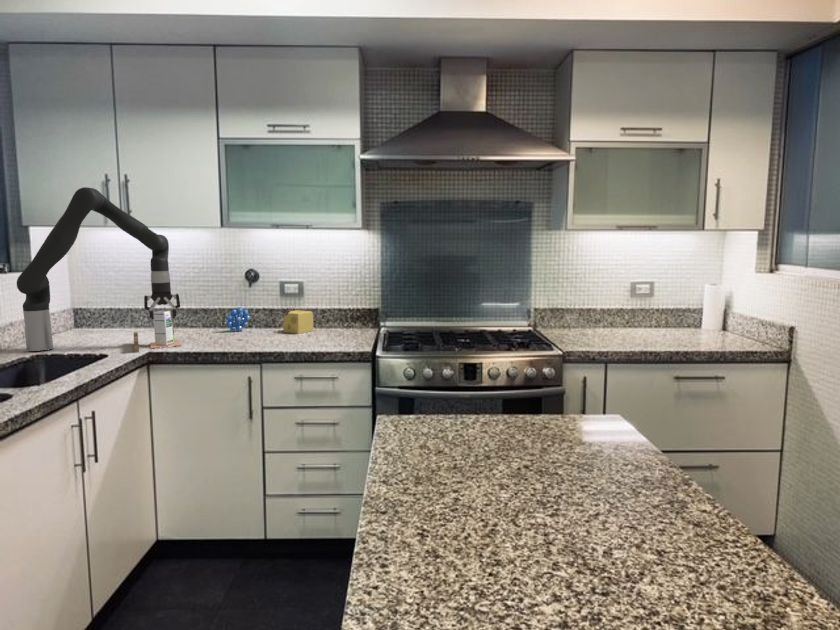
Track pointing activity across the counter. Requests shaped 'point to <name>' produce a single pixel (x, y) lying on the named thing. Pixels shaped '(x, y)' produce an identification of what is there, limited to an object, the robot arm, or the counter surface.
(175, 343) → the terracotta tile
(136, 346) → the walnut wall
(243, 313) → the grapes
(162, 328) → the syrup box
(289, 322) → the cheese
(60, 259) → the robot arm
